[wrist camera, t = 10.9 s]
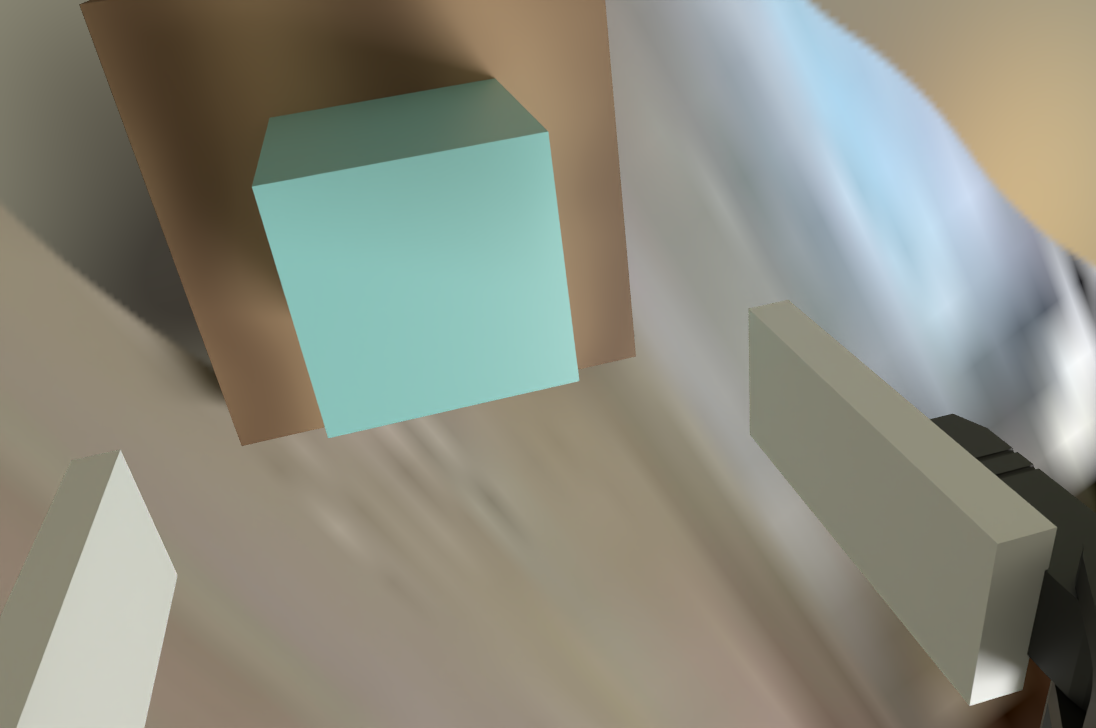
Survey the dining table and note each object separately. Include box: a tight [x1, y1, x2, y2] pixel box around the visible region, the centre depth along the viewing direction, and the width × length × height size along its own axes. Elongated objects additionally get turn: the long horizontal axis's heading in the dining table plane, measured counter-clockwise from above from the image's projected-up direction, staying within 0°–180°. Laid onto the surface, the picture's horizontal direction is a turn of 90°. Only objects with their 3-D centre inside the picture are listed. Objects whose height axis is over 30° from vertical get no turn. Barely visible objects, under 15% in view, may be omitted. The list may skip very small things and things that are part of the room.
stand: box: [80, 0, 636, 446], centre depth 26 cm, size 14×14×8 cm
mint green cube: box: [252, 78, 579, 438], centre depth 24 cm, size 7×7×7 cm
